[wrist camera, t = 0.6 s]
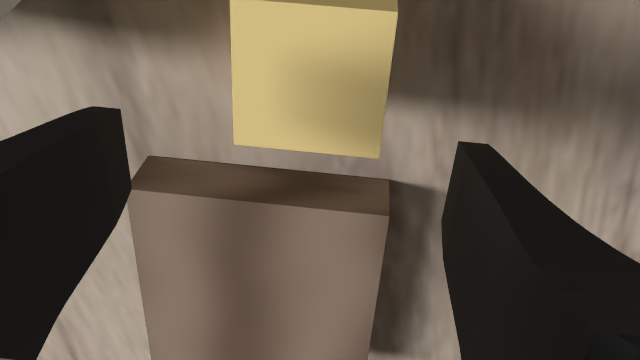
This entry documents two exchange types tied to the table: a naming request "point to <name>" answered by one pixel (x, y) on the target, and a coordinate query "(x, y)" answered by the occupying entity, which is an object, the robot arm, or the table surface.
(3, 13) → the teacup
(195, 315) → the walnut plinth
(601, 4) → the table surface
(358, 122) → the mustard block
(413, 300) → the table surface
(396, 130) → the table surface
